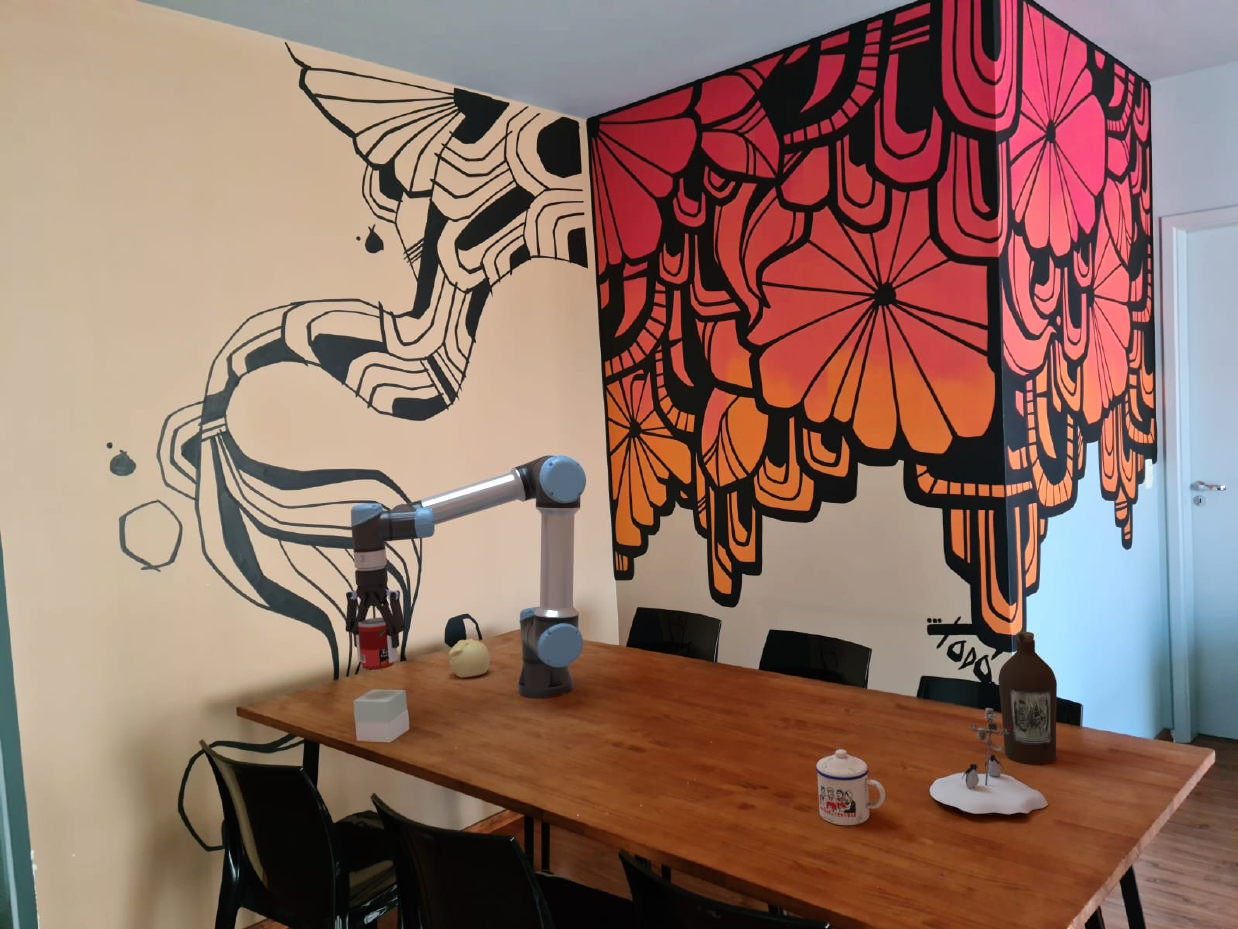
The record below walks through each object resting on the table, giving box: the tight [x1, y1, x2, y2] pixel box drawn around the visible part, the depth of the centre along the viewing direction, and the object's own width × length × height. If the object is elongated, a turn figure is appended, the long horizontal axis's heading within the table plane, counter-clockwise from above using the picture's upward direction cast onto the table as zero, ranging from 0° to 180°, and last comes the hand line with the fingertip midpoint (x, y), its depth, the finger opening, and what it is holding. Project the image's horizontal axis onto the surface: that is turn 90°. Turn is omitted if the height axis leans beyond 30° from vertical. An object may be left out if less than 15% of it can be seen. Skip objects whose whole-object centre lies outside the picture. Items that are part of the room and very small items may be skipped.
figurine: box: [929, 707, 1049, 815], centre depth 158 cm, size 20×18×16 cm
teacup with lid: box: [815, 749, 886, 826], centre depth 154 cm, size 12×9×12 cm
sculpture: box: [447, 638, 491, 678], centre depth 260 cm, size 11×12×11 cm
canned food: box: [358, 616, 395, 671], centre depth 212 cm, size 8×8×11 cm
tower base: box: [354, 709, 410, 743], centre depth 212 cm, size 9×9×5 cm
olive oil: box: [997, 631, 1058, 765], centre depth 175 cm, size 11×11×25 cm
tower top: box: [352, 688, 408, 723], centre depth 212 cm, size 9×9×5 cm
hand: (377, 660), depth 212 cm, fingers closed on canned food, 8 cm apart
